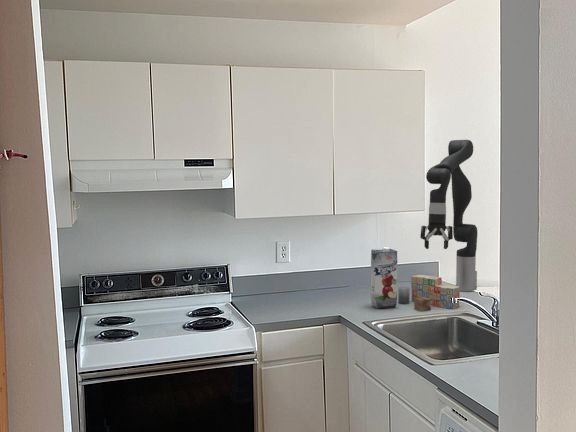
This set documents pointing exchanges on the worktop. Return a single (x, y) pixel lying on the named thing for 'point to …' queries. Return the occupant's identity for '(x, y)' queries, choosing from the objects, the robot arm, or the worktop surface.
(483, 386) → the worktop surface
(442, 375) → the worktop surface
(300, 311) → the worktop surface
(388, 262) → the juice carton
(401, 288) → the charcoal cylinder
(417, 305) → the walnut cube
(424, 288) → the stack of blocks
